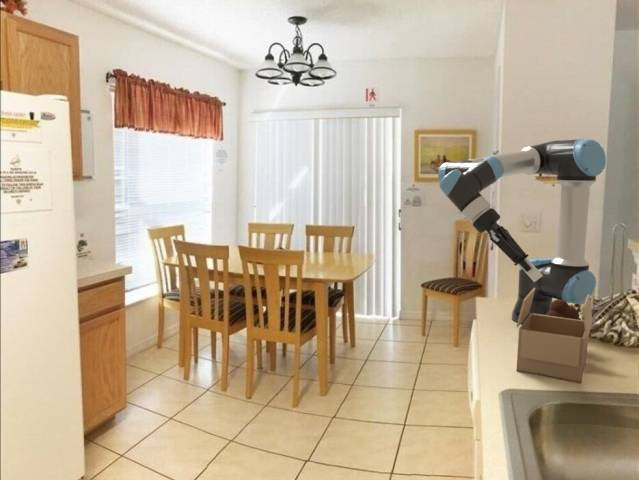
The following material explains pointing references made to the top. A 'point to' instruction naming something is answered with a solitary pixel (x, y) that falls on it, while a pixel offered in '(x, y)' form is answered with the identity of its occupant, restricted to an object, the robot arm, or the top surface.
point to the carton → (552, 347)
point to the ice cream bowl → (563, 310)
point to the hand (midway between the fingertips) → (538, 278)
